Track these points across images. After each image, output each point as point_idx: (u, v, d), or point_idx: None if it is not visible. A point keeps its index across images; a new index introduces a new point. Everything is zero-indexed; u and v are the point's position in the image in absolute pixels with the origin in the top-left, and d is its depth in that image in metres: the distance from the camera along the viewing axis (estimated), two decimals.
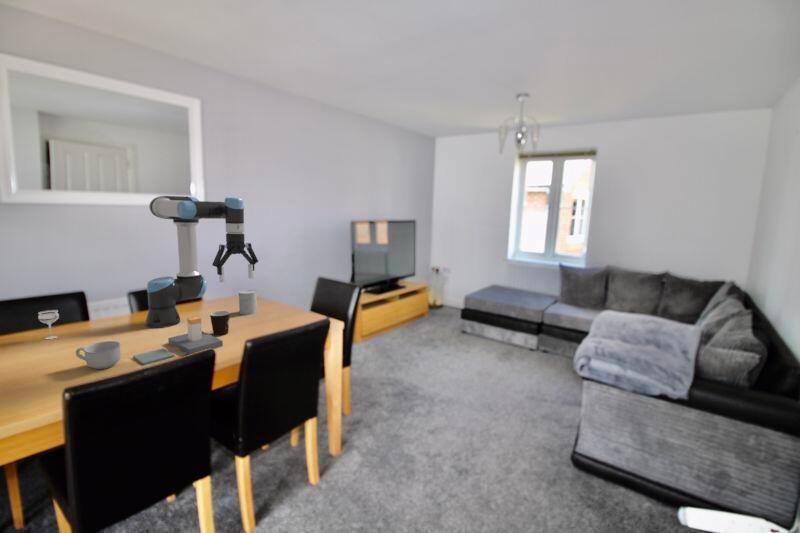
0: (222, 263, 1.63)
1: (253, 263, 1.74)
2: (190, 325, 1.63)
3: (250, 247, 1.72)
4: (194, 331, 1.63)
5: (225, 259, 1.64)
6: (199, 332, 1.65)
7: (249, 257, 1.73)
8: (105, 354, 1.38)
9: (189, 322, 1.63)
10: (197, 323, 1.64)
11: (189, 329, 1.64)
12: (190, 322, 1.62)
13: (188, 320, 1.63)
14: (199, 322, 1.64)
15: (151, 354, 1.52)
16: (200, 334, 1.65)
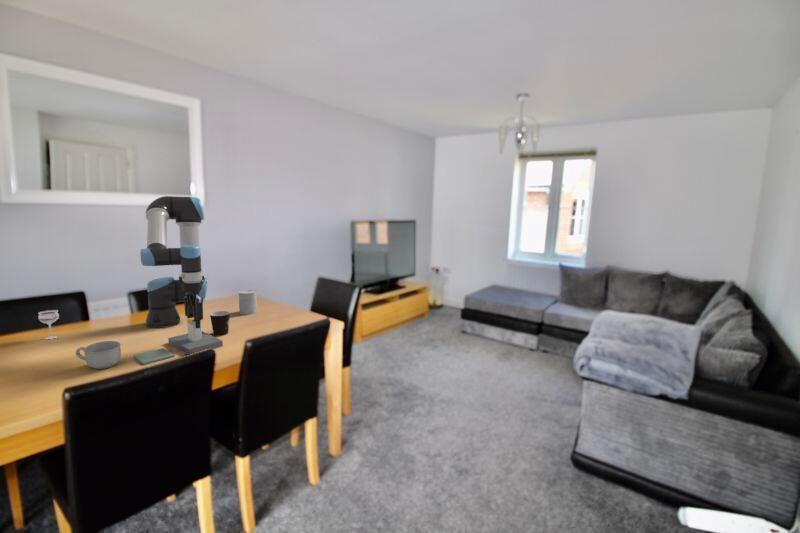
0: (187, 313, 1.65)
1: (193, 320, 1.61)
2: (190, 325, 1.63)
3: (196, 302, 1.59)
4: None
5: (188, 309, 1.64)
6: None
7: (193, 312, 1.61)
8: (105, 354, 1.38)
9: (189, 322, 1.63)
10: None
11: (189, 329, 1.64)
12: (190, 322, 1.62)
13: (188, 320, 1.63)
14: None
15: (151, 354, 1.52)
16: (200, 334, 1.65)
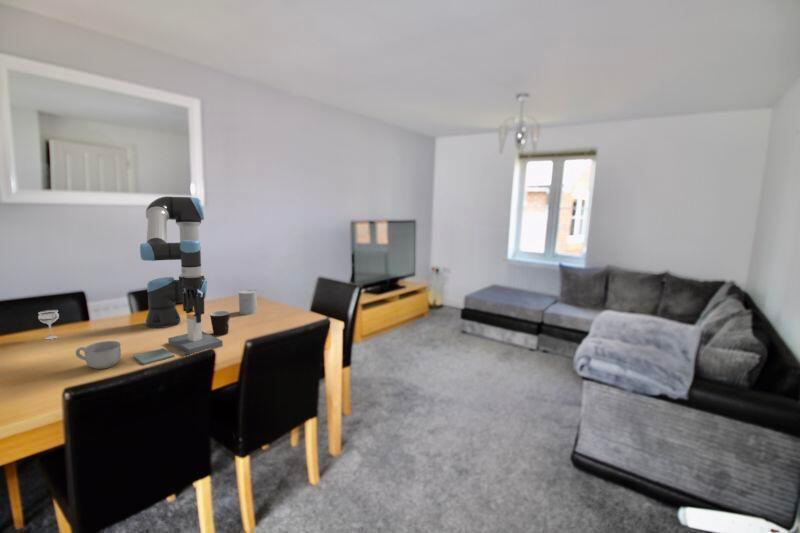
0: (186, 308, 1.64)
1: None
2: (190, 320, 1.62)
3: (198, 297, 1.59)
4: None
5: (187, 304, 1.64)
6: None
7: (194, 306, 1.61)
8: (105, 354, 1.38)
9: (189, 317, 1.63)
10: None
11: (189, 324, 1.63)
12: (190, 317, 1.62)
13: (188, 315, 1.63)
14: None
15: (151, 354, 1.52)
16: (200, 329, 1.65)
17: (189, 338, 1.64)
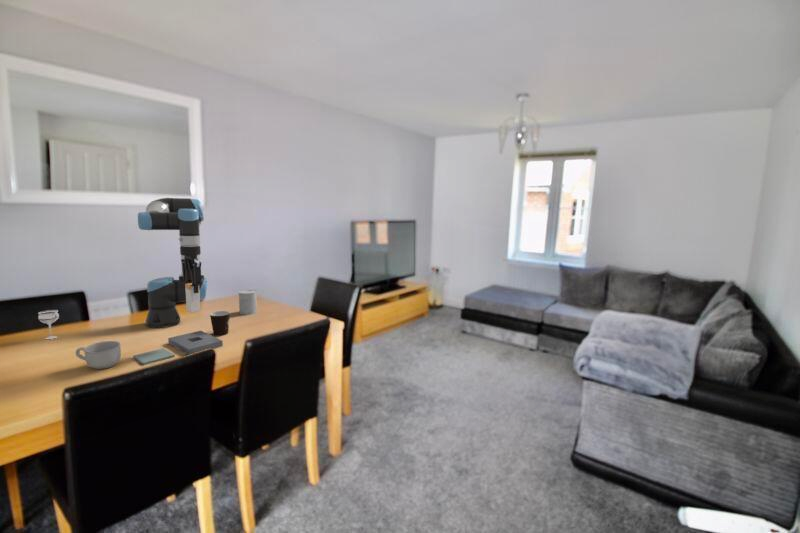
0: (185, 279, 1.62)
1: None
2: (188, 290, 1.60)
3: (194, 266, 1.56)
4: None
5: (186, 274, 1.62)
6: None
7: (192, 276, 1.59)
8: (105, 354, 1.38)
9: (187, 287, 1.61)
10: None
11: (187, 294, 1.61)
12: (188, 287, 1.60)
13: (186, 285, 1.61)
14: None
15: (151, 354, 1.52)
16: (198, 300, 1.63)
17: (187, 309, 1.63)
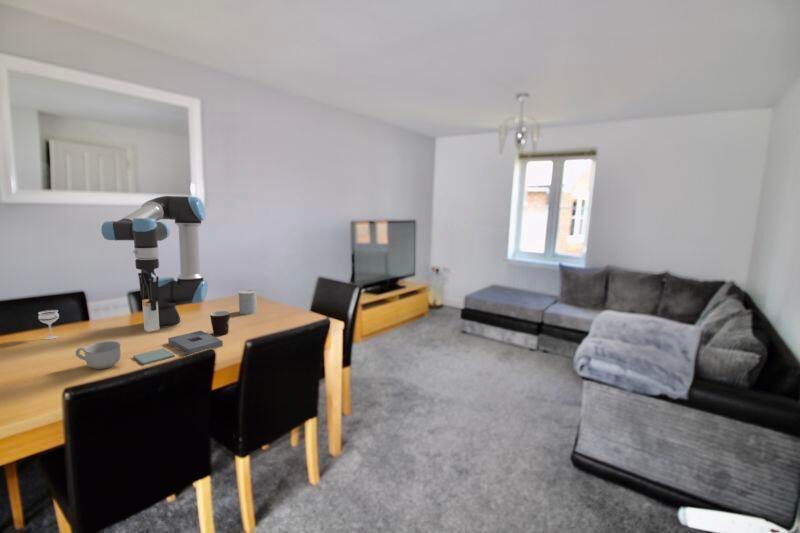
0: (143, 294, 1.48)
1: (148, 301, 1.45)
2: (145, 307, 1.46)
3: (150, 281, 1.42)
4: None
5: (143, 289, 1.48)
6: None
7: (148, 292, 1.45)
8: (105, 354, 1.38)
9: (143, 304, 1.47)
10: None
11: (144, 312, 1.47)
12: (145, 304, 1.46)
13: (143, 302, 1.47)
14: None
15: (151, 354, 1.52)
16: None
17: (145, 327, 1.48)
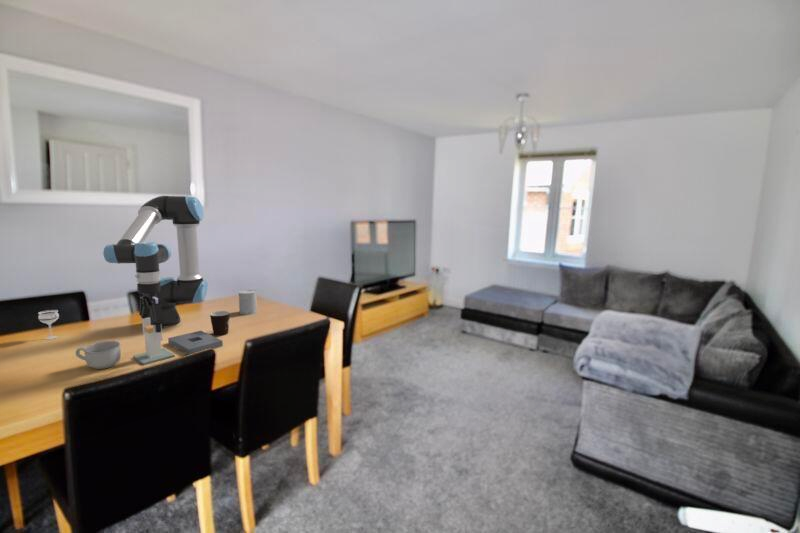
0: (142, 313, 1.51)
1: (153, 323, 1.44)
2: (147, 334, 1.48)
3: (152, 303, 1.43)
4: (152, 340, 1.49)
5: (142, 310, 1.50)
6: (157, 341, 1.50)
7: (152, 314, 1.45)
8: (105, 354, 1.38)
9: (146, 330, 1.48)
10: None
11: (146, 338, 1.49)
12: (147, 331, 1.48)
13: (145, 328, 1.49)
14: None
15: None
16: (159, 343, 1.51)
17: (147, 353, 1.50)
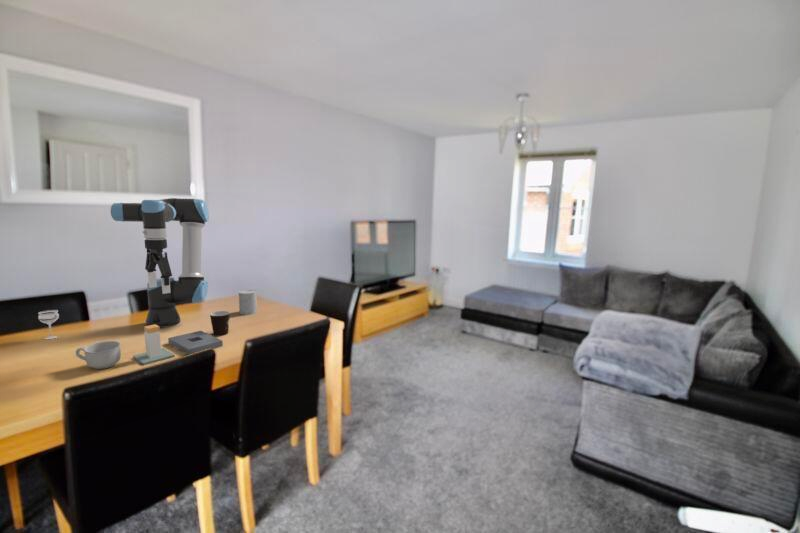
0: (148, 268, 1.57)
1: None
2: (147, 334, 1.48)
3: (160, 257, 1.48)
4: (152, 340, 1.49)
5: (149, 264, 1.56)
6: (157, 341, 1.50)
7: (160, 268, 1.49)
8: (105, 354, 1.38)
9: (146, 330, 1.48)
10: (155, 331, 1.49)
11: (146, 338, 1.49)
12: (147, 331, 1.48)
13: (145, 328, 1.49)
14: (157, 330, 1.50)
15: None
16: (159, 343, 1.51)
17: (147, 353, 1.50)
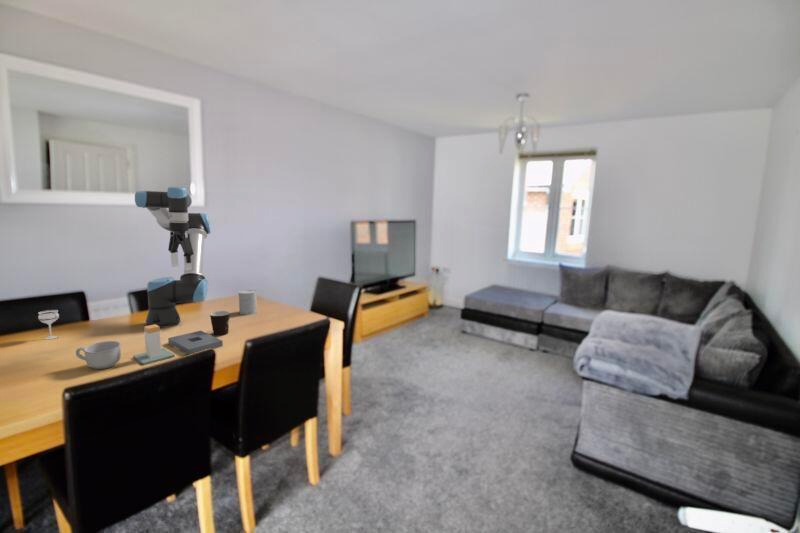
0: (171, 249, 1.76)
1: None
2: (147, 334, 1.48)
3: (183, 238, 1.67)
4: (152, 340, 1.49)
5: (172, 245, 1.75)
6: (157, 341, 1.50)
7: (183, 248, 1.68)
8: (105, 354, 1.38)
9: (146, 330, 1.48)
10: (155, 331, 1.49)
11: (146, 338, 1.49)
12: (147, 331, 1.48)
13: (145, 328, 1.49)
14: (157, 330, 1.50)
15: None
16: (159, 343, 1.51)
17: (147, 353, 1.50)
